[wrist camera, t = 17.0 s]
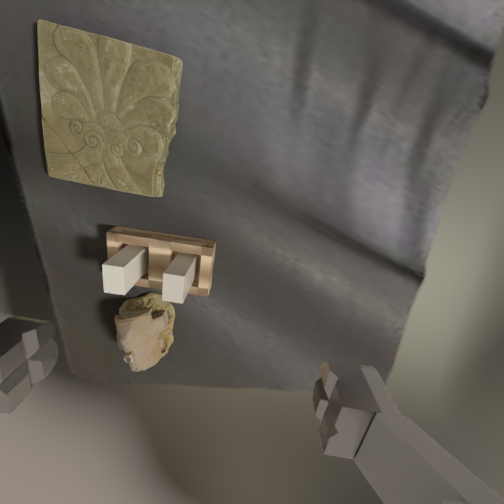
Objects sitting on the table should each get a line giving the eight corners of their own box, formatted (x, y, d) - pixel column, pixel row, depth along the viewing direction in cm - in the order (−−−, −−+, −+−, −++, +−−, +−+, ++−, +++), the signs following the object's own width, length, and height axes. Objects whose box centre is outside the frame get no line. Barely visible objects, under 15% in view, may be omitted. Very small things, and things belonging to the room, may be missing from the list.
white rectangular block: (129, 243, 45) (102, 264, 37) (147, 246, 45) (123, 267, 37) (130, 267, 47) (104, 292, 39) (147, 270, 47) (124, 295, 39)
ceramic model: (113, 294, 51) (80, 327, 41) (170, 290, 50) (150, 322, 41) (132, 352, 56) (107, 393, 47) (184, 349, 55) (169, 390, 46)
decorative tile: (57, 175, 43) (40, 177, 40) (50, 24, 36) (29, 12, 33) (172, 201, 44) (165, 205, 41) (188, 60, 37) (181, 51, 34)
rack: (117, 225, 46) (106, 231, 42) (216, 241, 46) (212, 248, 43) (118, 272, 49) (108, 281, 46) (210, 286, 49) (207, 296, 46)
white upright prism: (179, 251, 45) (163, 273, 37) (197, 253, 45) (184, 276, 38) (178, 274, 47) (162, 300, 39) (195, 277, 47) (182, 303, 39)
